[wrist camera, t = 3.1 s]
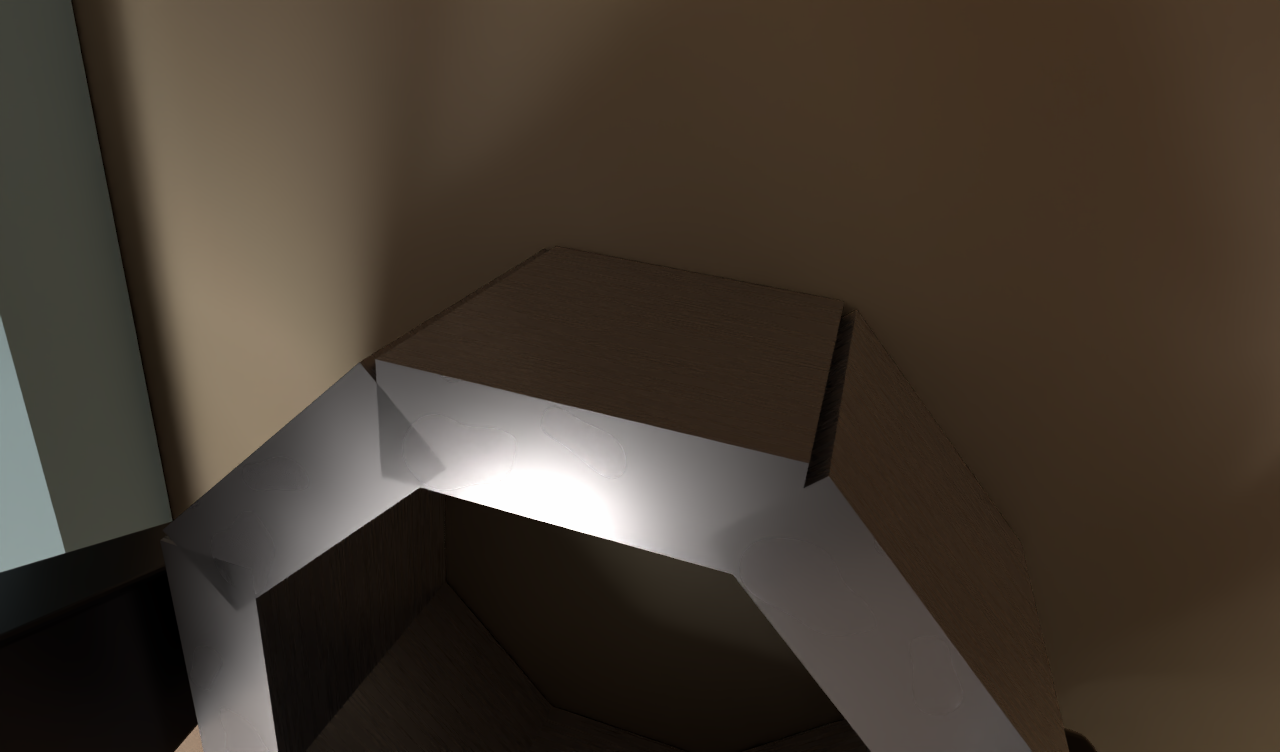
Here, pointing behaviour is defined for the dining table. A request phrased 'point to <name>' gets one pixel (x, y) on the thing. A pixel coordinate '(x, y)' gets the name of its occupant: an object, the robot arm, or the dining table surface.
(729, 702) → the dining table surface
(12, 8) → the piston plate
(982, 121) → the dining table surface
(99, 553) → the robot arm
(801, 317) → the ring
